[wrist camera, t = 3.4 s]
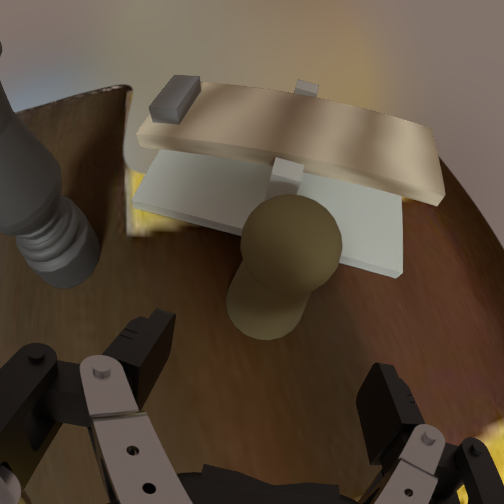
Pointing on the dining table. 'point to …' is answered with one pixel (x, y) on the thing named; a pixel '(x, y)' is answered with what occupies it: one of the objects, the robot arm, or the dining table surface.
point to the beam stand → (268, 186)
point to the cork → (282, 264)
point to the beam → (295, 135)
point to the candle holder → (41, 207)
